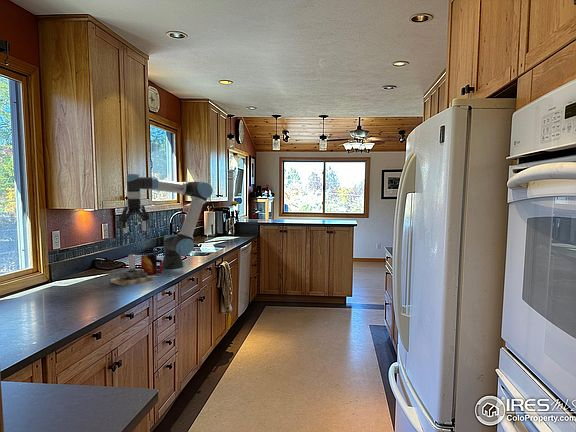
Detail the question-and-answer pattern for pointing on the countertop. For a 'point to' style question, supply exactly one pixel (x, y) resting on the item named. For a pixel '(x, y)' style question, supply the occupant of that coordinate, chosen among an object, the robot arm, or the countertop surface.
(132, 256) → the steel pin
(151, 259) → the mug
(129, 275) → the chain ends
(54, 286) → the countertop surface
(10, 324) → the countertop surface
